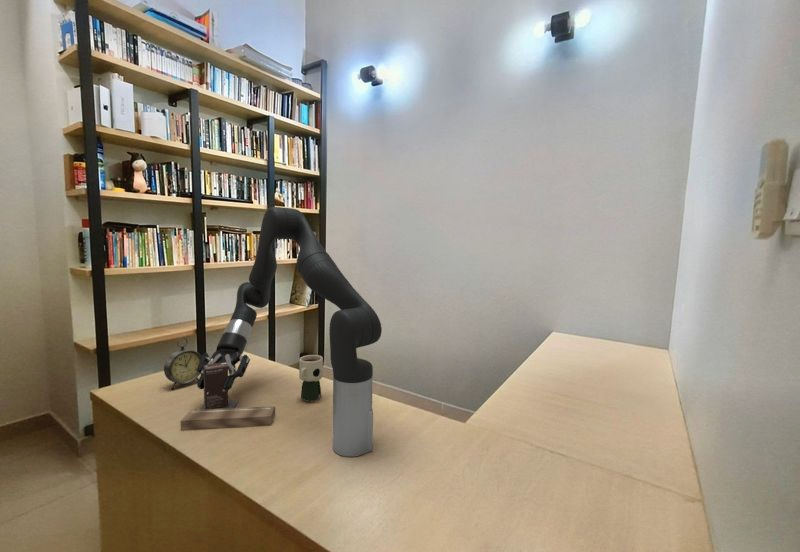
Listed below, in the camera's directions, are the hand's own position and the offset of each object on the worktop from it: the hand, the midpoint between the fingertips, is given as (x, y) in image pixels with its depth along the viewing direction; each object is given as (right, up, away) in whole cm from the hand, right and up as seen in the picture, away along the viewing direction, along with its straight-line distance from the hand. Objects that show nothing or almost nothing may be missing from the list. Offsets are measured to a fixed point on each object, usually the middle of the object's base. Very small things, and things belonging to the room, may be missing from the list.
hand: (212, 388), depth 100 cm
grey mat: (0, -7, +2) cm, 7 cm away
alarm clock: (-20, -5, +20) cm, 29 cm away
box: (0, -6, +2) cm, 6 cm away
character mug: (+25, -7, +11) cm, 28 cm away
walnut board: (+7, -7, -5) cm, 11 cm away
